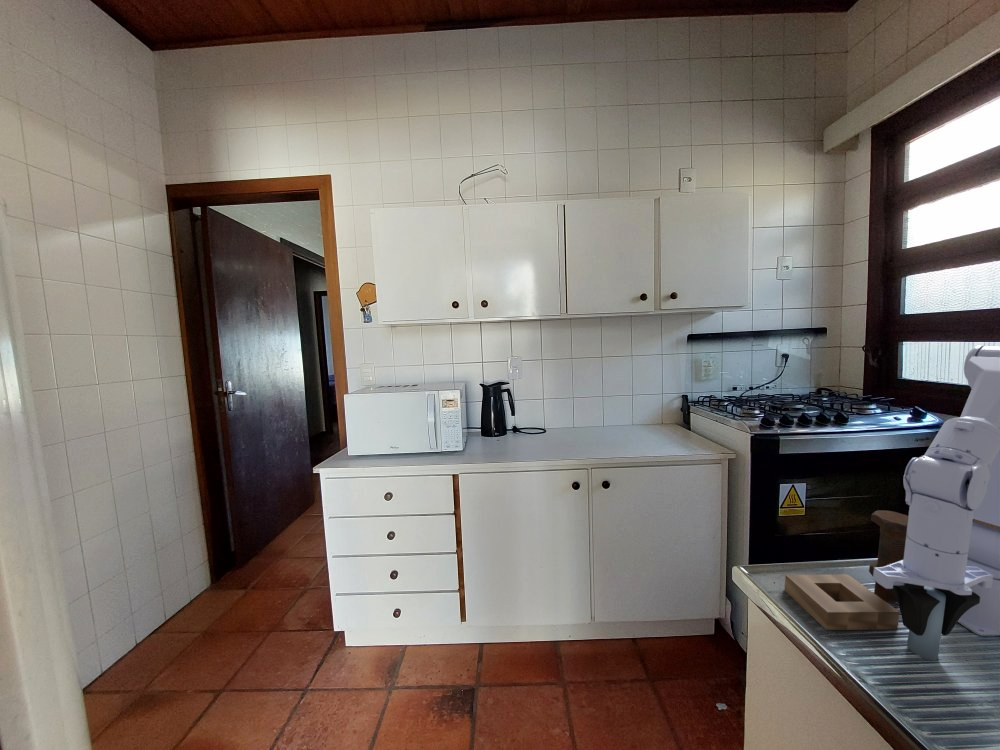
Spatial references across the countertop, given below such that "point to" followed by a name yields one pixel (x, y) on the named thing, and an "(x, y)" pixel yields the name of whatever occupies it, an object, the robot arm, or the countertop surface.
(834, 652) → the countertop surface
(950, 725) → the countertop surface
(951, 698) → the countertop surface
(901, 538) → the bolt
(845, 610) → the hole block
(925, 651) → the dowel
